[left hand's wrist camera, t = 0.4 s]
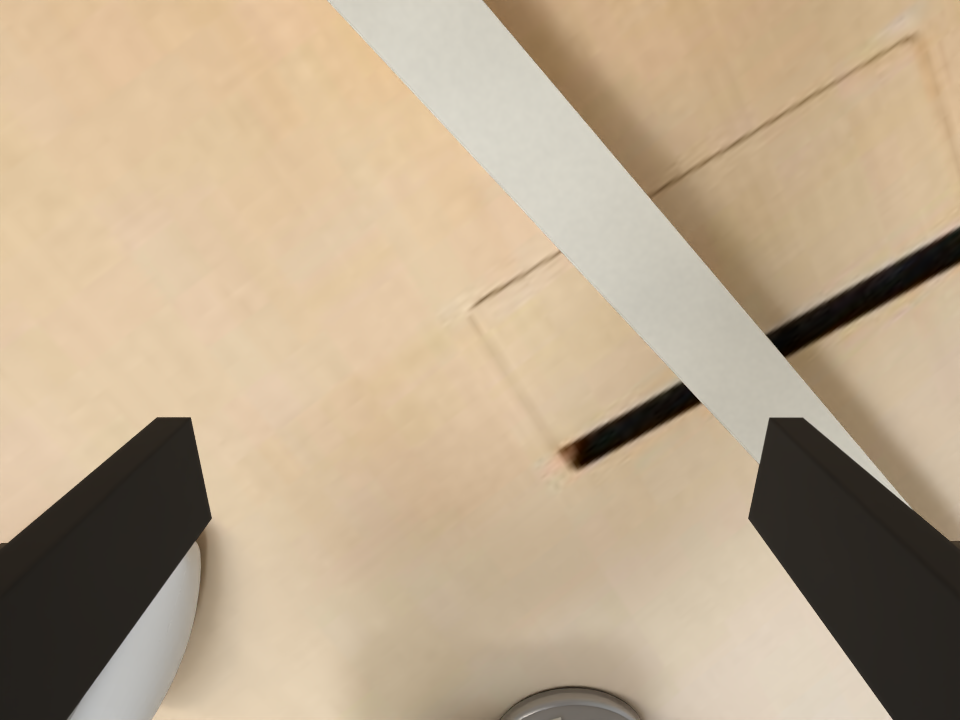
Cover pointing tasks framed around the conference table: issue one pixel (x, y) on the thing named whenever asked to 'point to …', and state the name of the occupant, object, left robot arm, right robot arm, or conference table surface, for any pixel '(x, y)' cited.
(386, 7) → the bar
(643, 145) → the conference table surface
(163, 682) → the projector
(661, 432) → the conference table surface
